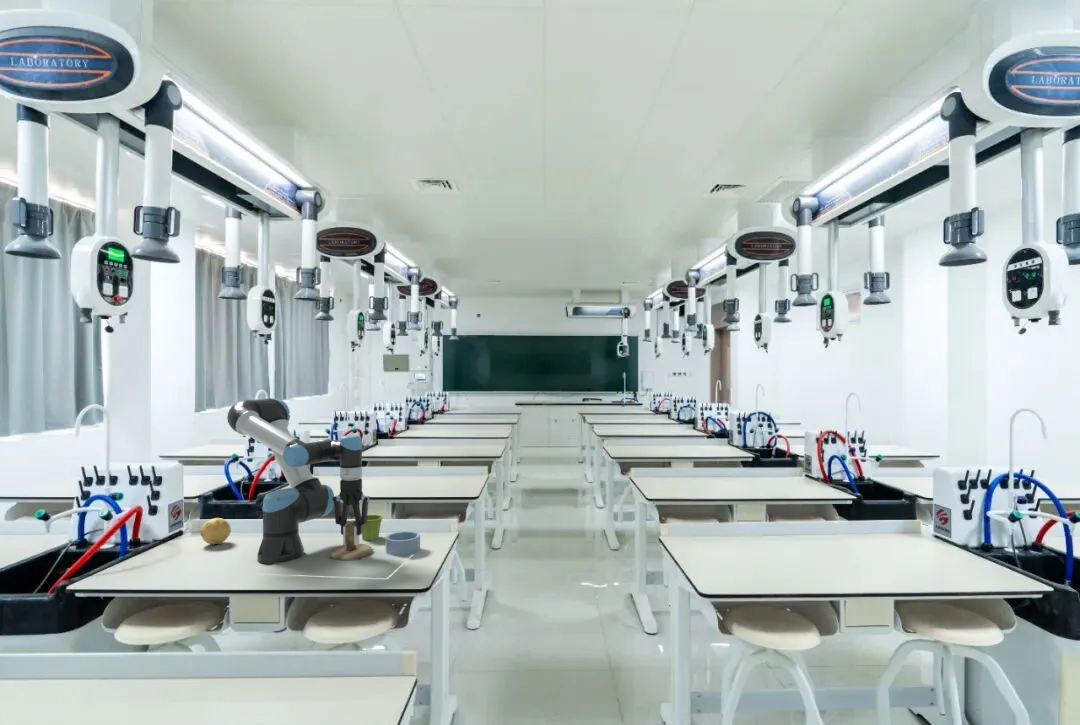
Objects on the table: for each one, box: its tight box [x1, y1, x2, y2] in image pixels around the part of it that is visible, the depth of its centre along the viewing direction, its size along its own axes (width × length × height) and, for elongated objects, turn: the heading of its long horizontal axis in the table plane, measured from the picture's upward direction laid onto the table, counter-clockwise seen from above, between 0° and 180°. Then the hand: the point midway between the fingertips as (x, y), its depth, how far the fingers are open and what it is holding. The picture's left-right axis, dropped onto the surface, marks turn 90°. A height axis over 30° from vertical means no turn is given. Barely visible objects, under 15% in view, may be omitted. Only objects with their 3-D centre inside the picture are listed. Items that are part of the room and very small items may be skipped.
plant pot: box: [360, 514, 383, 542], centre depth 227 cm, size 9×9×9 cm
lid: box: [330, 519, 373, 561], centre depth 208 cm, size 14×14×12 cm
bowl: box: [384, 531, 421, 556], centre depth 211 cm, size 12×12×6 cm
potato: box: [200, 517, 231, 545], centre depth 221 cm, size 10×10×10 cm
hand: (351, 543), depth 208 cm, fingers closed on lid, 3 cm apart
